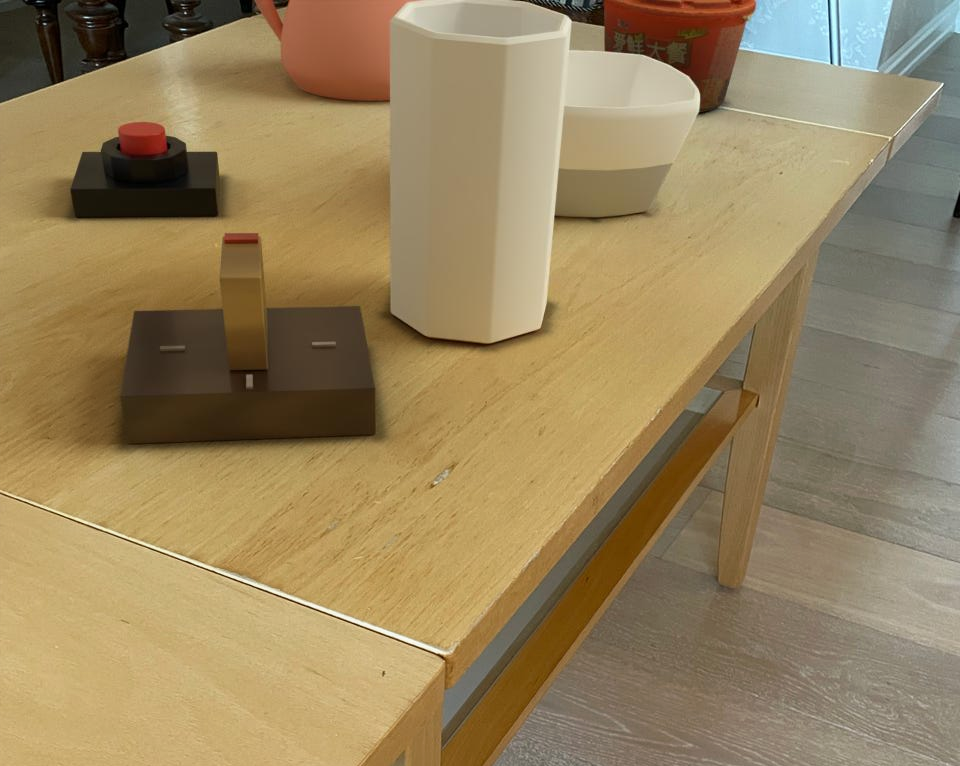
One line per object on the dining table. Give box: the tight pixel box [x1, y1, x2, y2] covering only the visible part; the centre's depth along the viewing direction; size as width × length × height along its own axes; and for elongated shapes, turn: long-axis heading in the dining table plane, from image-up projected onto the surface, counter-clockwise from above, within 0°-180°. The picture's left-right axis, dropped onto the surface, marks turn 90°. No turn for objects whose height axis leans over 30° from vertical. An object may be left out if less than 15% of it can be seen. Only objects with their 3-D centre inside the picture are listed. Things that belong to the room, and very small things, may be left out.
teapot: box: [253, 0, 422, 102], centre depth 119 cm, size 25×17×13 cm
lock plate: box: [119, 305, 377, 445], centre depth 69 cm, size 14×11×3 cm
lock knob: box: [219, 232, 268, 370], centre depth 66 cm, size 6×2×6 cm, turn 8°
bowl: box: [554, 49, 700, 218], centre depth 97 cm, size 18×18×9 cm
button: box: [117, 121, 167, 155], centre depth 92 cm, size 4×4×2 cm
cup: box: [389, 0, 573, 345], centre depth 75 cm, size 11×11×18 cm
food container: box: [603, 0, 757, 113], centre depth 120 cm, size 16×16×11 cm
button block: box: [69, 135, 221, 218], centre depth 93 cm, size 11×9×4 cm
